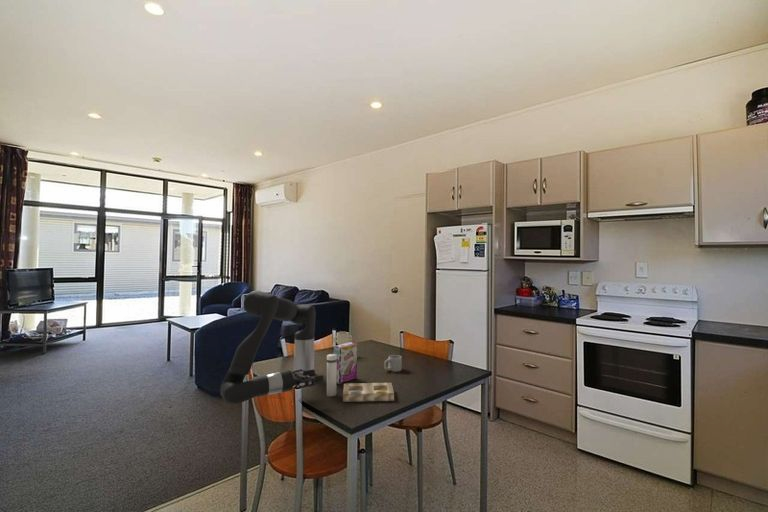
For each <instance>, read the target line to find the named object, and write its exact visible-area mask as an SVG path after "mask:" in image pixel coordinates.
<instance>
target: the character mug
mask: <svg viewBox="0 0 768 512" xmlns="http://www.w3.org/2000/svg"><path fill="white" fill-rule="evenodd" d="M352 341H353V336H352V335H351V334H350V332H347V331H338V332H336V335H334V336H333V343H336V344H337V345H340V344H345V343H349V342H352Z"/></svg>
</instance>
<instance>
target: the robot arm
mask: <svg viewBox="0 0 768 512" xmlns="http://www.w3.org/2000/svg"><path fill="white" fill-rule="evenodd" d="M295 303H296V302H293V301H292V300H290V299H286V298H284V297H283V298H282V297H278V296H277V295H275V294H272V293H269V292H265V291H260V290H253V291H251V292H249V293H248V294H247V295H245V297H244V300H243V308H244V310H245V312H246V313H247V314H249V315H250V316H255V317H259V318H260V320H259V322H258V323H257V325H256V327H255V328H254V330H253V331H252V332H251V333H250V334H248V336H247V337H246V338H244V339H243V340H242V342H241V343H240V344H239V345H238V346H237V348H236V350H235V353H234V355H233V358H232V360H231V363H230V367H229V368H228V370H227V373H226V374H225V376H224V378H223V380H222V382H221V385H220V389H219V391H220V396H221V397H222V399H223V400H224V402H226V403H227V404H229V405H231V404H232V405H235V404H240V403H245V402H246V401H249V400H251V399H253V398H256V397H262V396H267V395H276V394H281V393H286V392H290V391H292V390H293V388H294V386H298V387H299V388H300V389H303V388H308V387H313V386H316V384H315V383H320V382H323V381H324V375H323V374H320V375H316V369H315V332H316V314H317V312H316V307H315V306H314V305H312V304H295ZM273 320H277V321H280V322H281V321H282V322H291V323H293V324H296V325H305V326H304V327H305V328H303V329H301V330H298V331H296V332H295V333H294V355H293V370H288V369H287V370H282V371H278V372H272V373H268V374H263V375H258V376H253V377H252V378H250V380H246V381H244V380H245V378H246V376H247V375H248V374H249V373H250V372H251V369H252V367H253V364H254V361H255V358H256V355H257V353H258V351H259V347H260V346H261V344H262V341H263V340H264V338H265V336H266V334H267V332H268V330H269V328H270V325H271V323H272V322H273ZM315 375H316V376H315Z"/></svg>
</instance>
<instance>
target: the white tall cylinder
mask: <svg viewBox="0 0 768 512" xmlns="http://www.w3.org/2000/svg"><path fill="white" fill-rule="evenodd" d="M336 379H337V355H336V354H333V353H329V354H327V355H326V396H327V397H335V396H337V383H336Z"/></svg>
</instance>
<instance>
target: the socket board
mask: <svg viewBox="0 0 768 512" xmlns="http://www.w3.org/2000/svg"><path fill="white" fill-rule="evenodd" d="M390 401H391V402H392V401H393V402H394V401H395V391H394V388H393V384H392V382H361V383H360V382H359V383H358V382H357V383H354V382H351V383H350V382H349V383H348V382H347V383H346V382H344V383H343V390H342V402H343V403H344V402H345V403H346V402H348V403H349V402H390Z"/></svg>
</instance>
